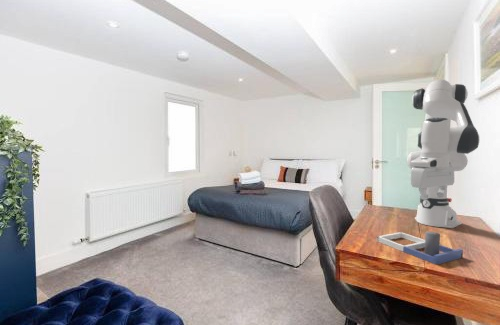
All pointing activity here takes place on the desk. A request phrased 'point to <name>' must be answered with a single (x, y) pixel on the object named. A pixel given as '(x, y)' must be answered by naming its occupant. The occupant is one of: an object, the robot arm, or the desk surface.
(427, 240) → the smooth grey pebble
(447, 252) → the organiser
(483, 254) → the desk surface
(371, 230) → the desk surface
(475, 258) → the desk surface
